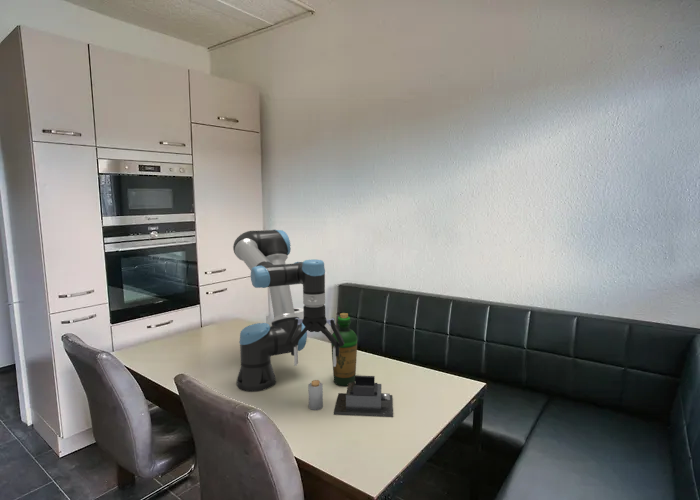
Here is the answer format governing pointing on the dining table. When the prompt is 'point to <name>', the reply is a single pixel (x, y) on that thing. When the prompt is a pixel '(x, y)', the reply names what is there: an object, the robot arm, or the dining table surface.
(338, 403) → the stepped square mount
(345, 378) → the bottle
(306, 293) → the robot arm
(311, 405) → the grey cylinder with ball
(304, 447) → the dining table surface
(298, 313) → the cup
